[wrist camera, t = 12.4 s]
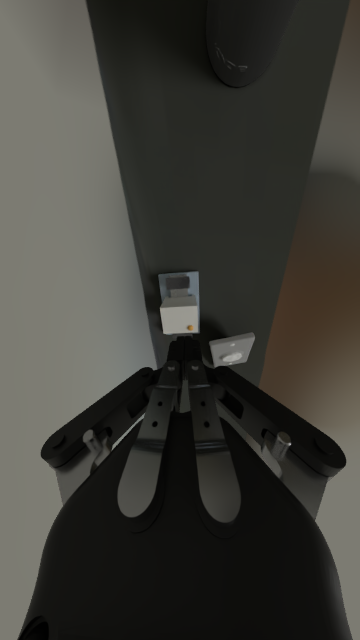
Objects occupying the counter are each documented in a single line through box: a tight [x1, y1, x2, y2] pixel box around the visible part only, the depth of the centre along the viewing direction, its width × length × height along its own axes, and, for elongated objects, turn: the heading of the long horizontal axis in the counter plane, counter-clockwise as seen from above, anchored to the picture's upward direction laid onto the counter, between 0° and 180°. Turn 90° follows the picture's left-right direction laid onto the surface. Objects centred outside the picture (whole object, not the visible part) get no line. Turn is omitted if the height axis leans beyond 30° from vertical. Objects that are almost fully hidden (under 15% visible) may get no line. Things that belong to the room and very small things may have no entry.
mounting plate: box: [158, 271, 200, 335], centre depth 31 cm, size 14×8×2 cm, turn 5°
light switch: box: [209, 333, 255, 367], centre depth 33 cm, size 8×6×14 cm
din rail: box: [166, 274, 193, 339], centre depth 29 cm, size 14×4×3 cm, turn 5°
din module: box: [160, 295, 198, 334], centre depth 27 cm, size 5×6×7 cm
